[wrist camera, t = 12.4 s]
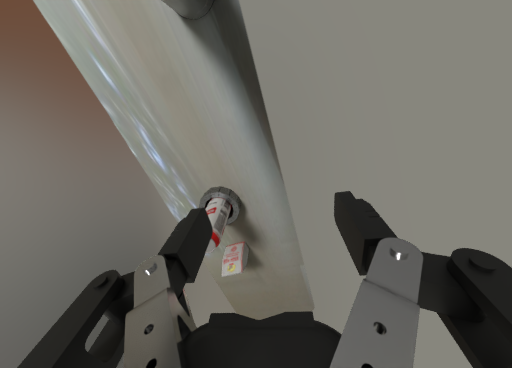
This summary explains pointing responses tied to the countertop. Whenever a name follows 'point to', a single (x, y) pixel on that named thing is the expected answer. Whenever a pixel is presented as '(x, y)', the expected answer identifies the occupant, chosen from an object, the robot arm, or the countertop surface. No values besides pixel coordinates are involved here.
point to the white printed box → (235, 259)
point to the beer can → (217, 220)
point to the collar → (224, 194)
